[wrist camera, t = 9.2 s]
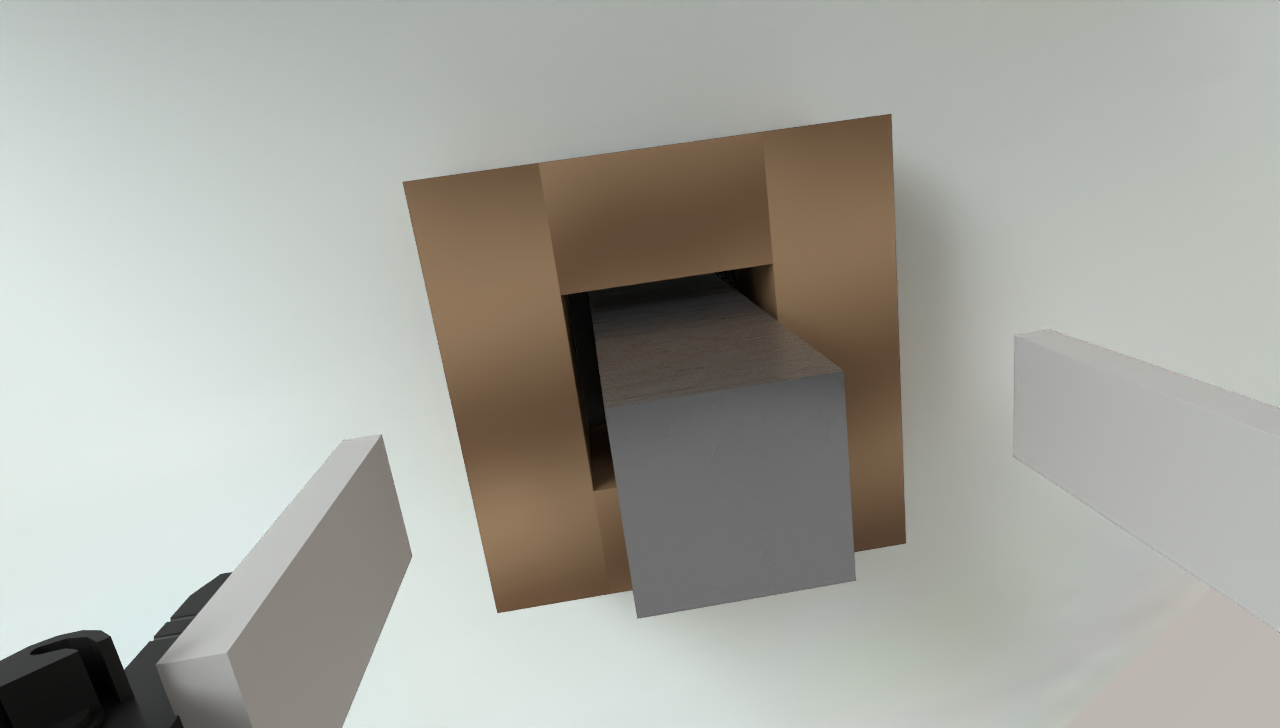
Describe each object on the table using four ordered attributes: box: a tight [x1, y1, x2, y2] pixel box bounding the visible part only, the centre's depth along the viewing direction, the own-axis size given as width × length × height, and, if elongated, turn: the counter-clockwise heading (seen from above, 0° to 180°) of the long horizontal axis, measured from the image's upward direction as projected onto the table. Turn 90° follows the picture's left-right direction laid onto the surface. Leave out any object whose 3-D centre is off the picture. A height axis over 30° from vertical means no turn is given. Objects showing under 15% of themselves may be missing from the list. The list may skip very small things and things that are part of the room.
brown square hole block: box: [403, 114, 906, 613], centre depth 21 cm, size 12×12×5 cm
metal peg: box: [588, 273, 856, 619], centre depth 18 cm, size 4×4×12 cm
